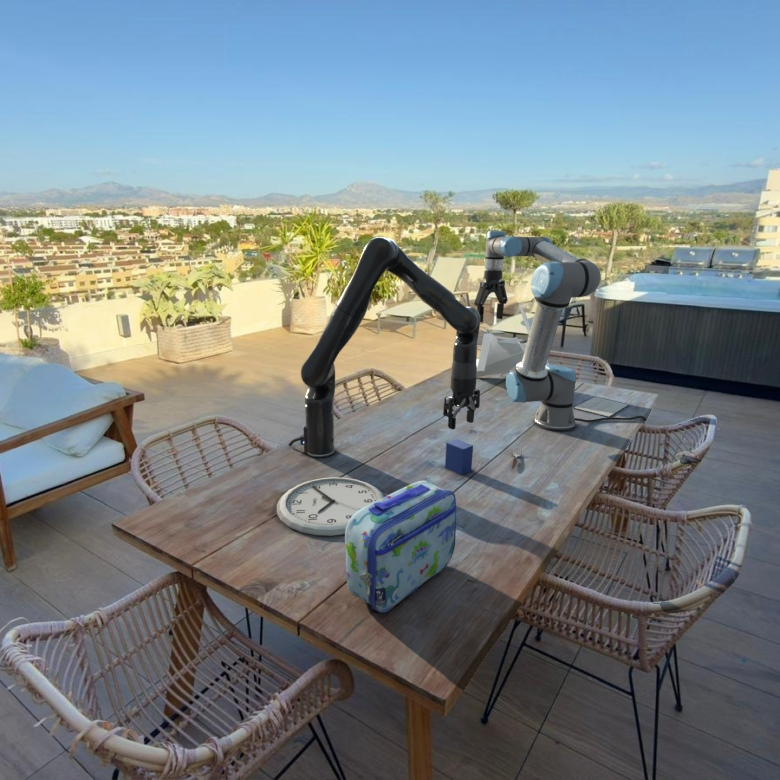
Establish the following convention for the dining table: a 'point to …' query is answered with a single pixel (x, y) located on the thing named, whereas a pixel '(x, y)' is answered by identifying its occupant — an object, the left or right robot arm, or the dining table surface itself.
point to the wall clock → (325, 504)
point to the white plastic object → (501, 353)
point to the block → (459, 456)
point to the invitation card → (601, 406)
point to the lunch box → (399, 543)
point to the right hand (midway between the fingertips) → (489, 320)
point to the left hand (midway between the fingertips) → (460, 425)
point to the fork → (516, 456)
